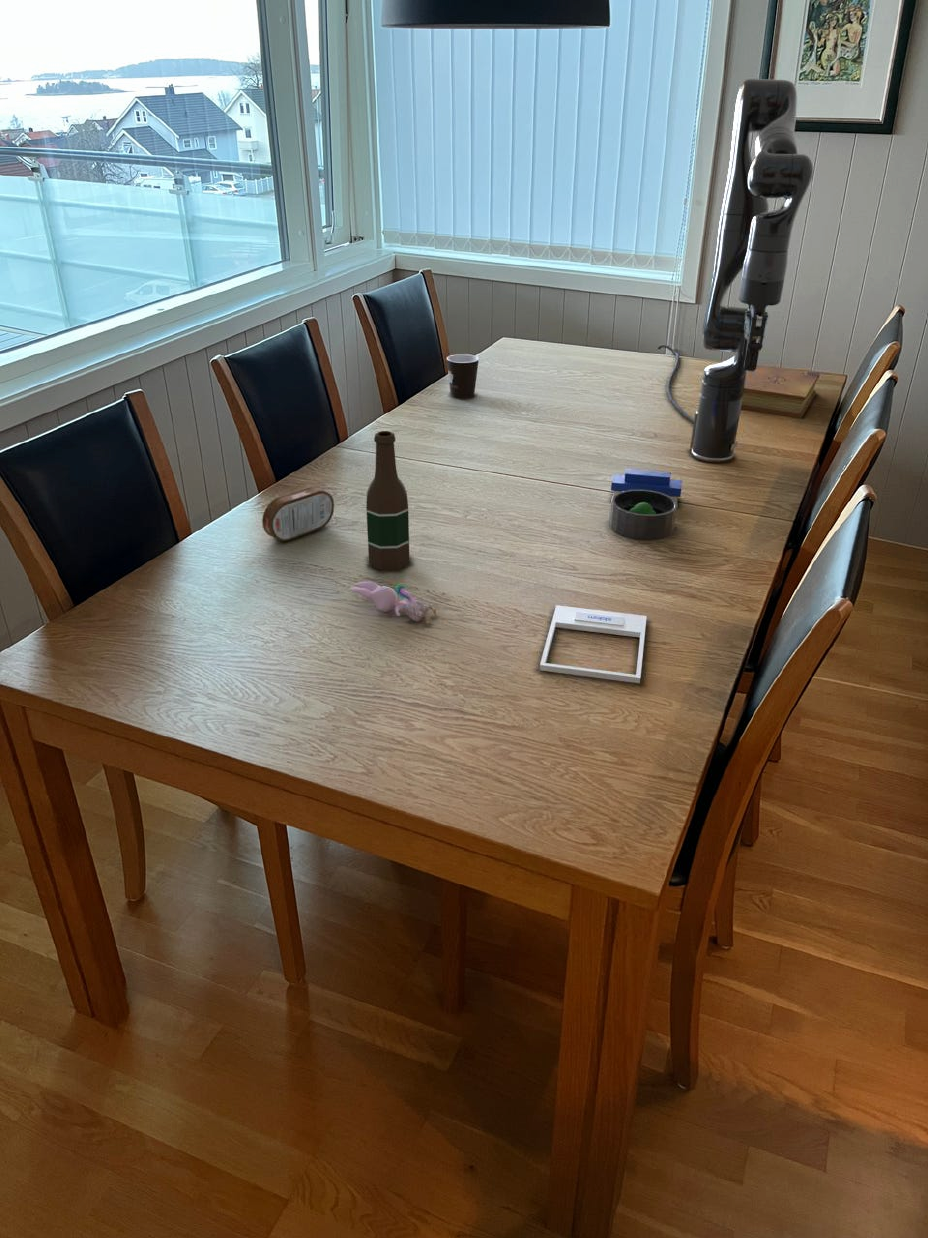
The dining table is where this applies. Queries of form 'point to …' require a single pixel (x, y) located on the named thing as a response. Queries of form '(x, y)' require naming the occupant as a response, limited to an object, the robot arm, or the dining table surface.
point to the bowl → (643, 515)
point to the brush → (646, 482)
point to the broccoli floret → (643, 509)
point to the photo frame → (601, 624)
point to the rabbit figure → (393, 600)
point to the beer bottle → (387, 510)
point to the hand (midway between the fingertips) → (748, 363)
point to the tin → (298, 513)
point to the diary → (779, 390)
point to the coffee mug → (462, 375)
